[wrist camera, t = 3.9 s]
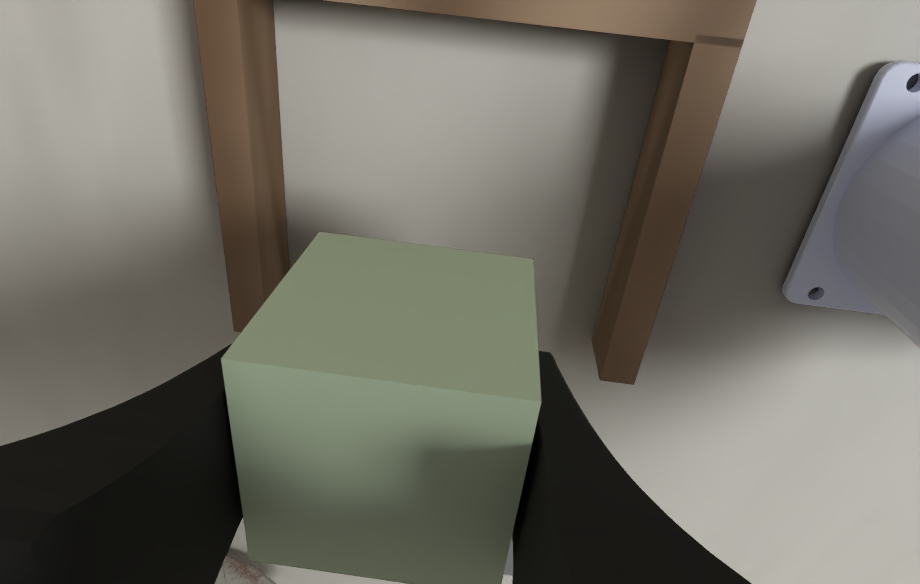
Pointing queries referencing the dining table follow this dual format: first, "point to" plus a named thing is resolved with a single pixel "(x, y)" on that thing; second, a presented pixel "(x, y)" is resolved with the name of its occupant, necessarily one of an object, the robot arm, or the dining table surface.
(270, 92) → the wooden u-shaped frame
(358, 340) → the cube
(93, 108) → the dining table surface
